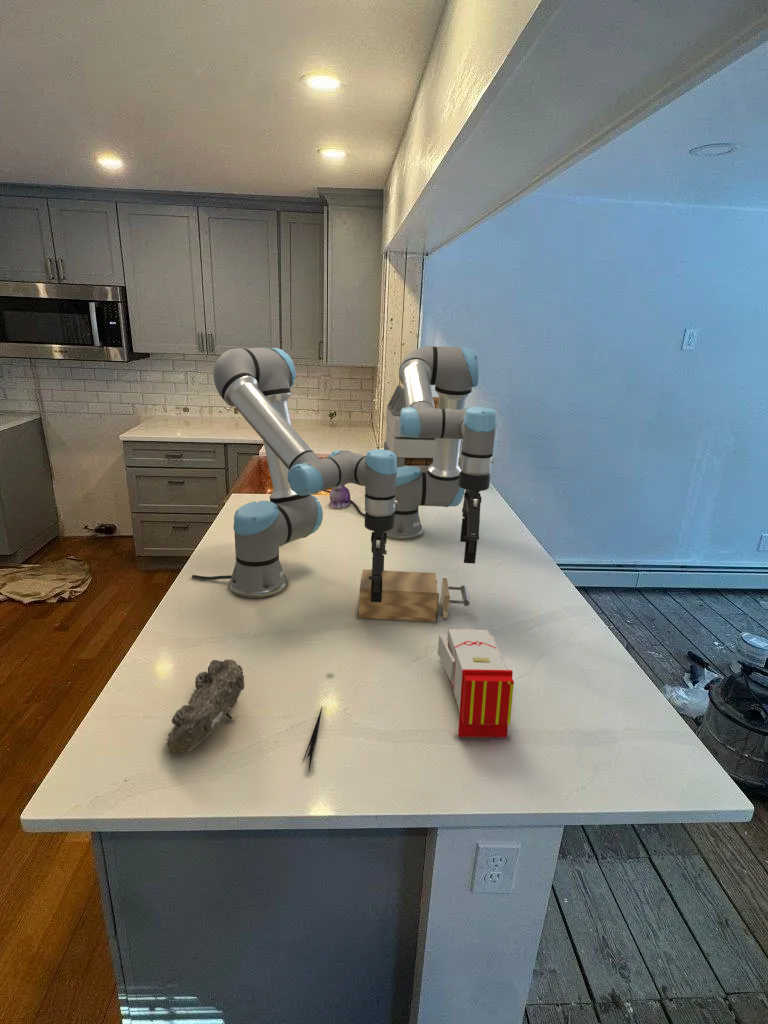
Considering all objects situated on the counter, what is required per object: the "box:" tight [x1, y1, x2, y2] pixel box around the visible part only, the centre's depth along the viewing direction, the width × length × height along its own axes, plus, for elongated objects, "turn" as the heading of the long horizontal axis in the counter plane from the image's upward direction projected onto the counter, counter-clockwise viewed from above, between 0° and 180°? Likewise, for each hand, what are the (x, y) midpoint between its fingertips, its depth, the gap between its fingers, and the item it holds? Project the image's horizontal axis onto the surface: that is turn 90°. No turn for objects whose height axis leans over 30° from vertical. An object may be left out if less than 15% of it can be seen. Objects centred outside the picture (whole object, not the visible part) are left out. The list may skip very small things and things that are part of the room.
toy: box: [437, 628, 515, 738], centre depth 117 cm, size 12×13×30 cm
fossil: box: [166, 658, 245, 754], centre depth 106 cm, size 22×10×15 cm
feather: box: [301, 673, 332, 771], centre depth 108 cm, size 2×28×2 cm
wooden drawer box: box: [358, 568, 439, 623], centre depth 149 cm, size 20×11×8 cm, turn 88°
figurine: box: [329, 485, 351, 509], centre depth 223 cm, size 9×10×15 cm
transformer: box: [383, 384, 463, 468], centre depth 268 cm, size 34×33×41 cm
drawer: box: [436, 577, 471, 619], centre depth 148 cm, size 24×10×6 cm, turn 88°
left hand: (377, 589), depth 148 cm, fingers open, 13 cm apart
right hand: (467, 551), depth 146 cm, fingers open, 13 cm apart
